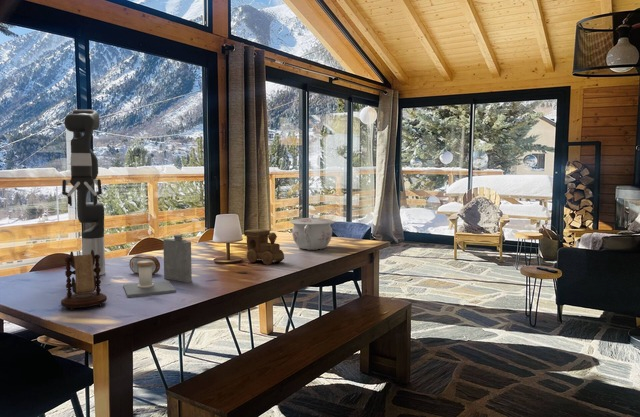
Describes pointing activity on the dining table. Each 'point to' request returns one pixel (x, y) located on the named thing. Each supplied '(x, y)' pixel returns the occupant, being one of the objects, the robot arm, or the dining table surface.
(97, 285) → the scroll
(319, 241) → the chamber pot
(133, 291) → the mat
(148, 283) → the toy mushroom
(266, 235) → the wooden toy train
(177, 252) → the hip flask
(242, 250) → the dining table surface
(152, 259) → the tin
